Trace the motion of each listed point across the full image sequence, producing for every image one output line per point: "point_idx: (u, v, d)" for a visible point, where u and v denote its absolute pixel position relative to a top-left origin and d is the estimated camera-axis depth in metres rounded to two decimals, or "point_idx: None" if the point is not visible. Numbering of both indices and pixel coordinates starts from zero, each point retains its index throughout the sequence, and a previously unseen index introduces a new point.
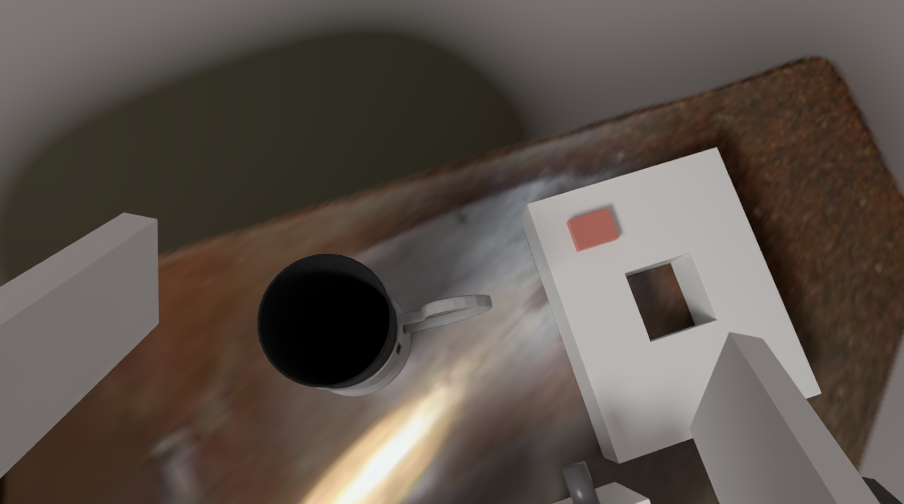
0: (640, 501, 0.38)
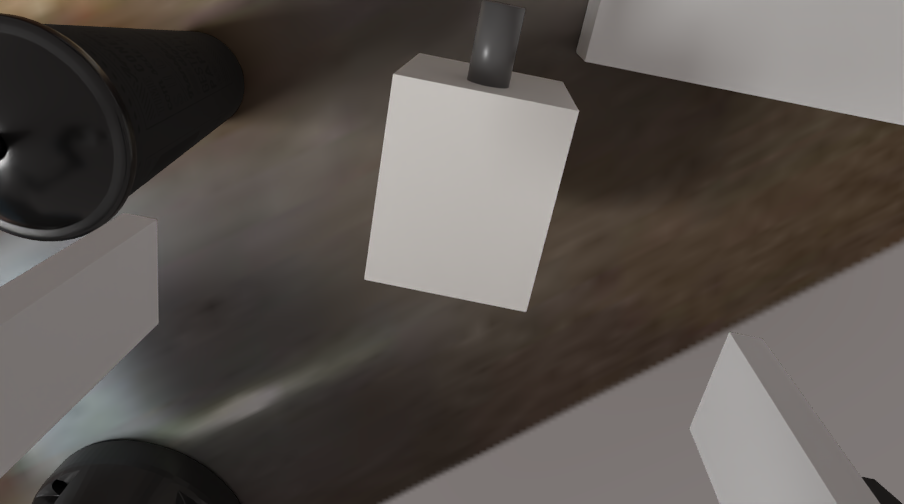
0: (564, 107, 0.22)
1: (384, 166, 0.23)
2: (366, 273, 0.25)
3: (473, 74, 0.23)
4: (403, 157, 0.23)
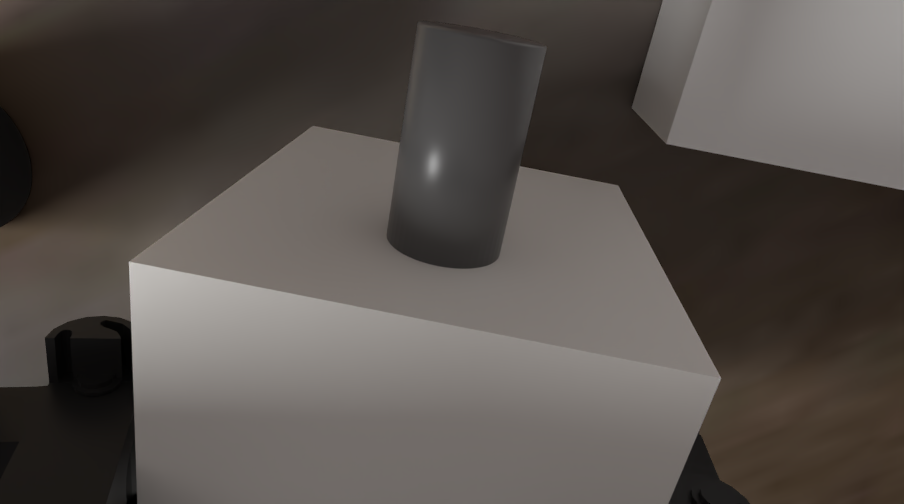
0: (672, 365, 0.07)
1: (149, 492, 0.08)
2: None
3: (399, 230, 0.08)
4: (196, 473, 0.08)
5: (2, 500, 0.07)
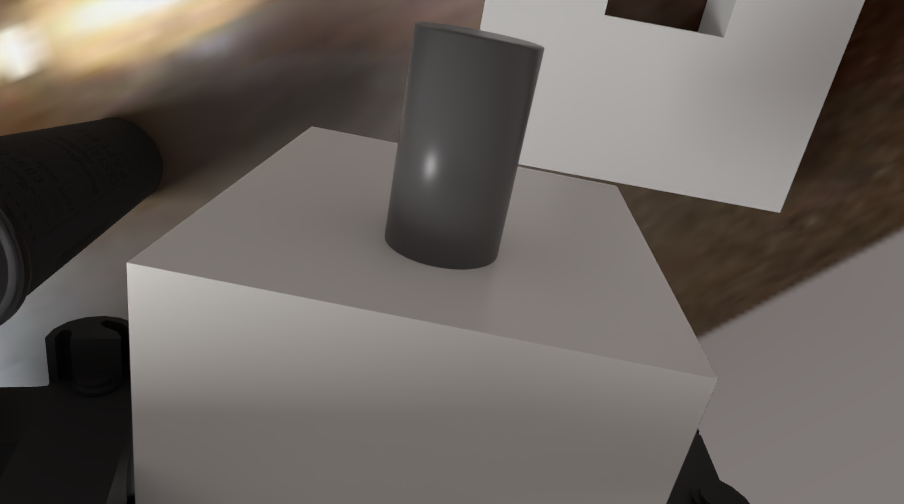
0: (669, 365, 0.07)
1: (147, 492, 0.08)
2: None
3: (397, 231, 0.08)
4: (194, 473, 0.08)
5: (2, 500, 0.07)
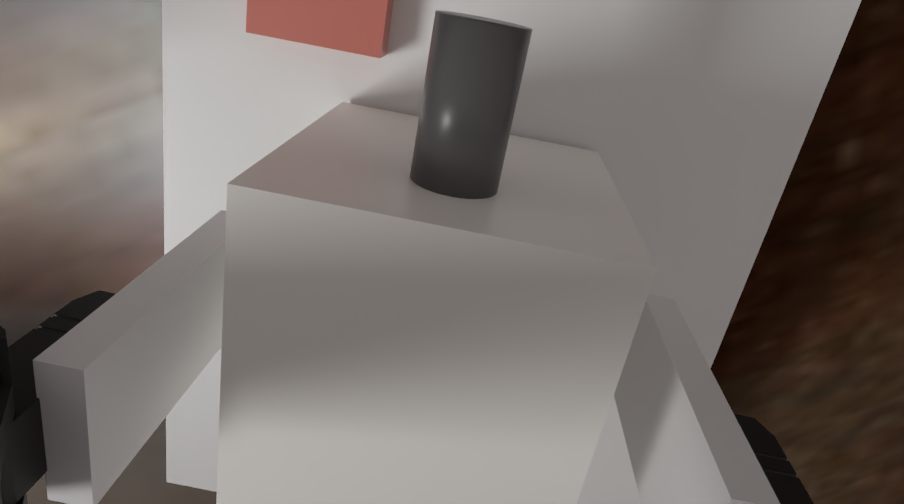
0: (622, 260, 0.09)
1: (230, 368, 0.11)
2: None
3: (420, 170, 0.11)
4: (267, 351, 0.11)
5: None
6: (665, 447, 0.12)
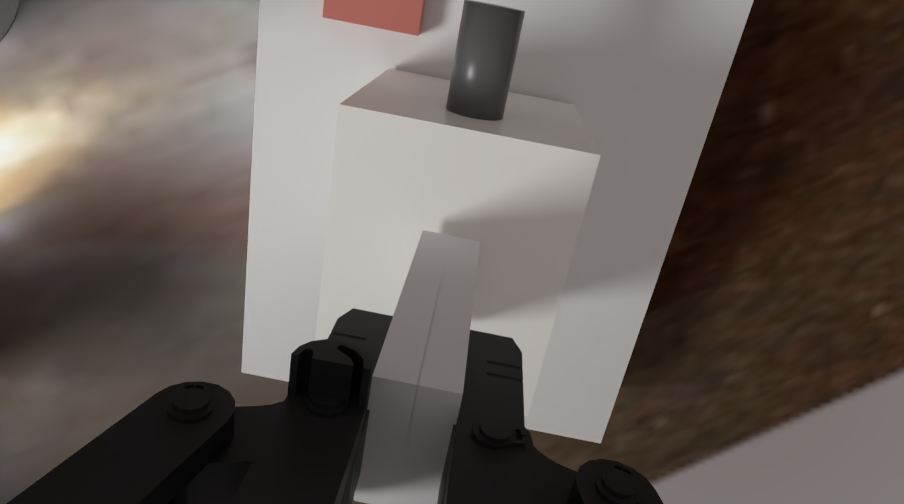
0: (579, 150, 0.16)
1: (332, 228, 0.17)
2: None
3: (453, 102, 0.17)
4: (357, 216, 0.17)
5: None
6: None
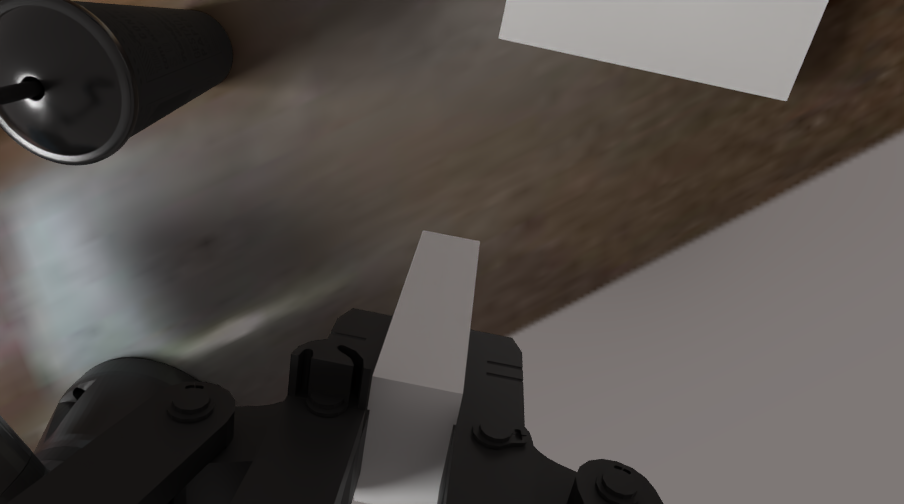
0: None
1: None
2: None
3: None
4: None
5: None
6: None
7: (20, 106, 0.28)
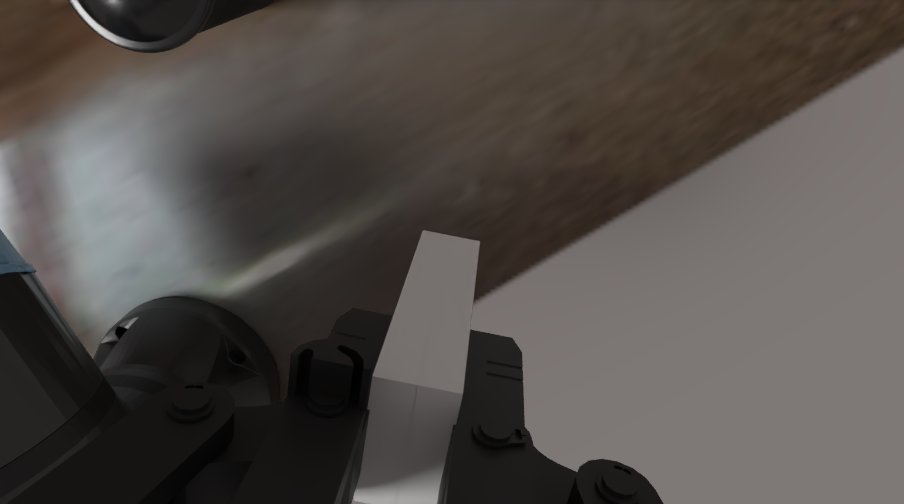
0: None
1: None
2: None
3: None
4: None
5: None
6: None
7: None
